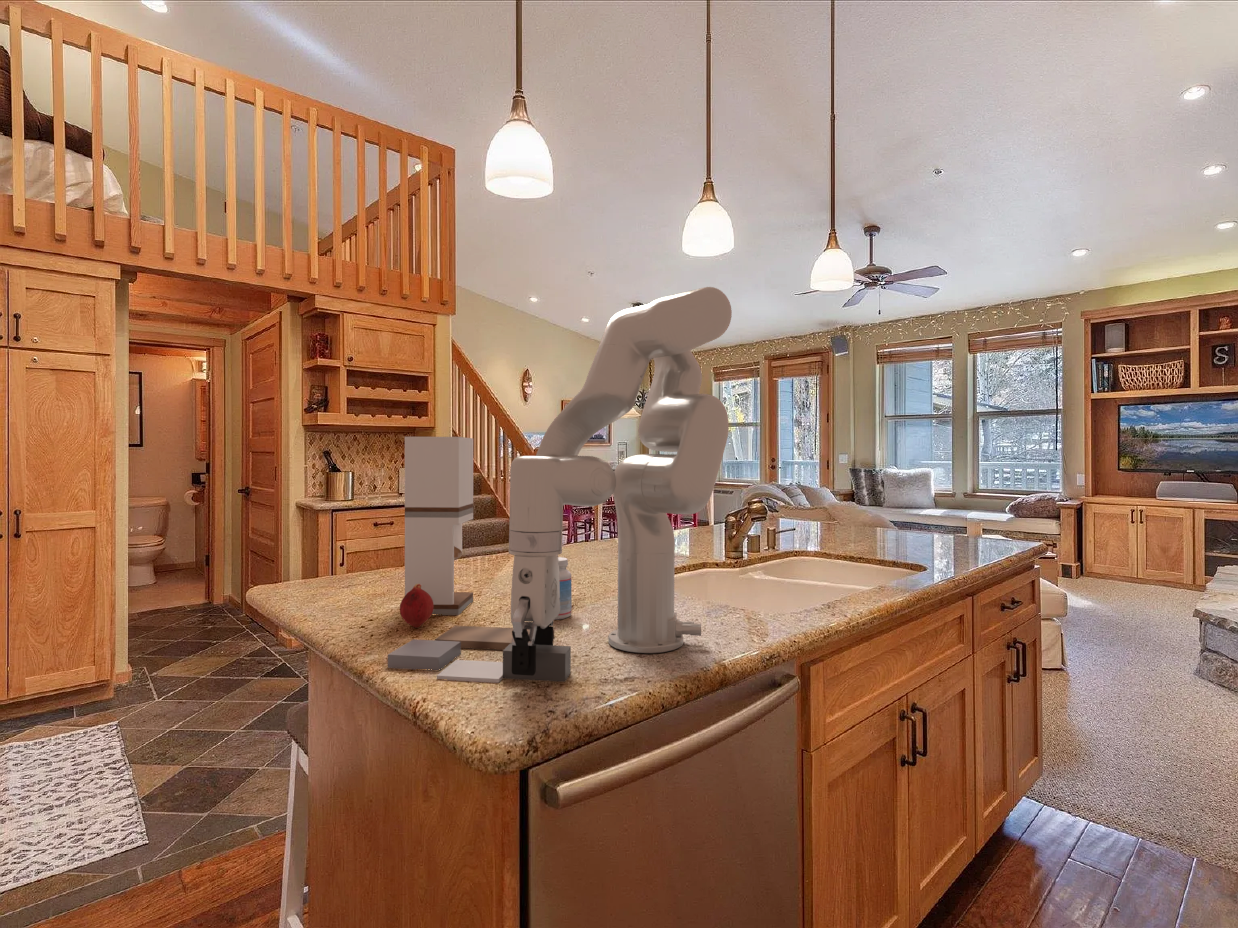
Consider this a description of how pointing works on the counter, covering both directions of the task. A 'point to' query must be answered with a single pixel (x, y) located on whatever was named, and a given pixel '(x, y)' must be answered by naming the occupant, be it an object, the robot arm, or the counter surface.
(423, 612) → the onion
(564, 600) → the pill bottle
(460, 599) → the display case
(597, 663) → the counter surface
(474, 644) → the rest
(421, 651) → the tile
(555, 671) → the stepped grey white block
